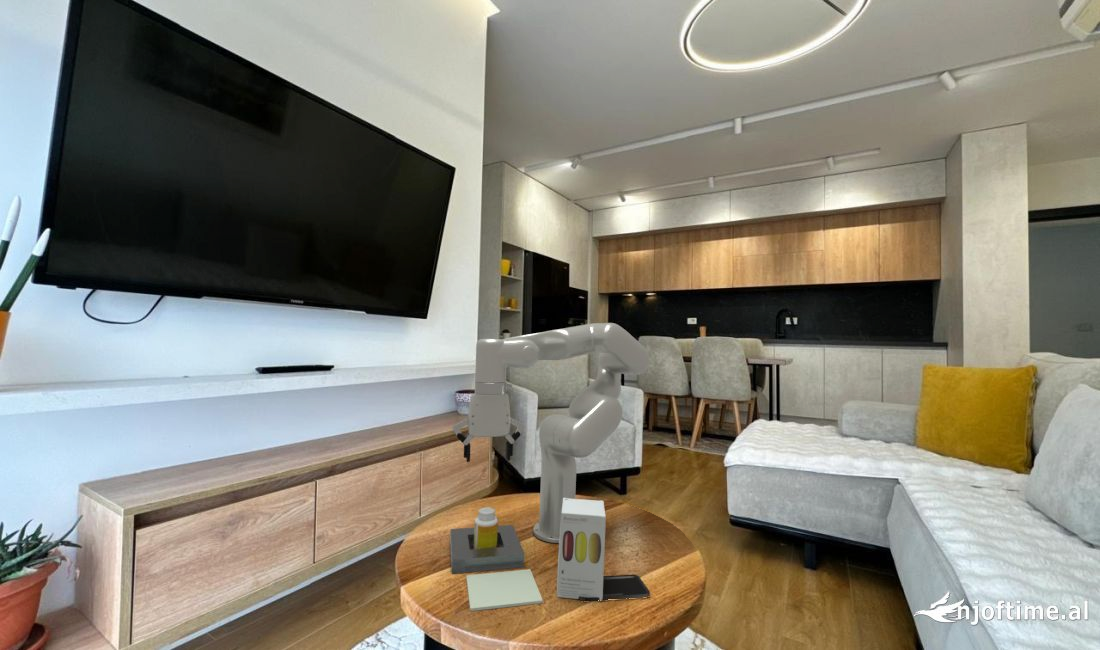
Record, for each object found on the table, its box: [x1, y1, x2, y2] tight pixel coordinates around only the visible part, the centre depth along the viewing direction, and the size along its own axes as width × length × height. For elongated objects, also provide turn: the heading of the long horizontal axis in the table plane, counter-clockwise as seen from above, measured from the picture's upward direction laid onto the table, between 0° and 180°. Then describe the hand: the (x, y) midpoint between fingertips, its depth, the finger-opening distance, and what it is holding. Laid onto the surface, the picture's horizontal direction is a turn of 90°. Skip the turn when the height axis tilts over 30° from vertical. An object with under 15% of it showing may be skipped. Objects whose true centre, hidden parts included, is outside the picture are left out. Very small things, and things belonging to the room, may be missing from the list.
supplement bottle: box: [473, 506, 499, 550], centre depth 104 cm, size 6×6×10 cm
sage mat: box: [465, 568, 544, 612], centre depth 88 cm, size 14×12×1 cm
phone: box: [578, 574, 651, 603], centre depth 90 cm, size 8×1×15 cm
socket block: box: [449, 524, 525, 575], centre depth 103 cm, size 16×16×3 cm
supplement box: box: [556, 498, 607, 600], centre depth 91 cm, size 10×9×17 cm
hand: (488, 459), depth 105 cm, fingers open, 9 cm apart
